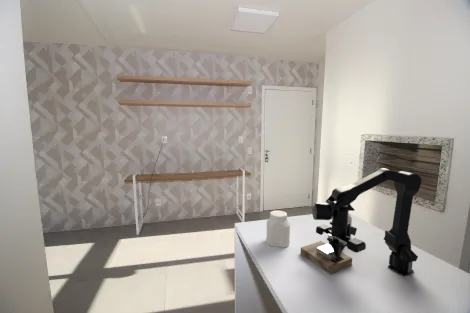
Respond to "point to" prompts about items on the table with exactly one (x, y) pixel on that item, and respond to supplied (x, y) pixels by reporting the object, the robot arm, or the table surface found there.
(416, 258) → the robot arm
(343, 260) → the socket board
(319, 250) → the panel
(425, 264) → the table surface
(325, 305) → the table surface
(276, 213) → the jar
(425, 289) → the table surface
